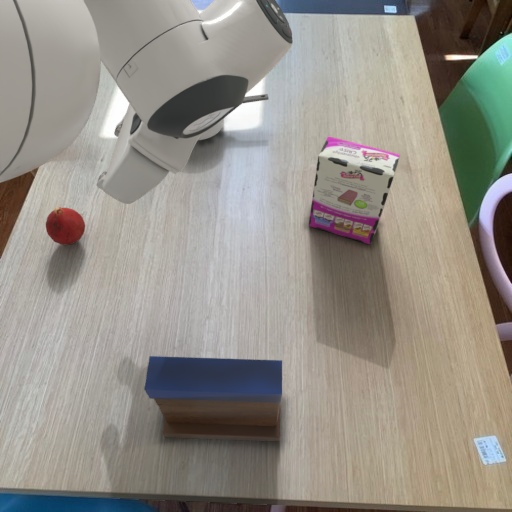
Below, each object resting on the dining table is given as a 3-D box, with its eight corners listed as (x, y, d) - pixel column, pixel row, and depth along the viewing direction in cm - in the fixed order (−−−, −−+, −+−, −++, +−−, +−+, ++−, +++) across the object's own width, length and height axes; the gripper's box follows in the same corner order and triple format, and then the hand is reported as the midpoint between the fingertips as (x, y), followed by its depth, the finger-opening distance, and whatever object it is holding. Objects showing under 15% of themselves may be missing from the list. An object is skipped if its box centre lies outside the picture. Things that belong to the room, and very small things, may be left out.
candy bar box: (378, 224, 82) (402, 153, 68) (371, 246, 79) (395, 177, 65) (315, 205, 84) (327, 133, 70) (306, 226, 81) (317, 155, 68)
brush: (279, 441, 62) (287, 401, 48) (164, 437, 62) (137, 396, 48) (279, 402, 64) (286, 354, 50) (169, 399, 65) (145, 349, 51)
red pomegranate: (78, 258, 78) (62, 228, 71) (48, 248, 79) (29, 218, 72) (96, 231, 81) (82, 200, 74) (67, 222, 82) (50, 191, 75)
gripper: (167, 30, 59) (109, 93, 67) (131, 146, 47) (67, 205, 56) (206, 64, 62) (146, 120, 71) (182, 180, 51) (114, 230, 59)
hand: (111, 158), depth 63 cm, fingers open, 8 cm apart
